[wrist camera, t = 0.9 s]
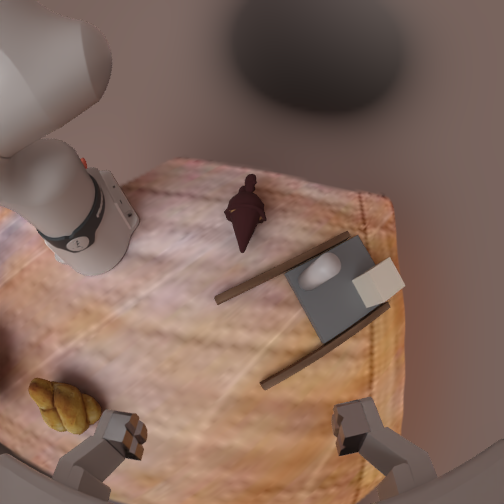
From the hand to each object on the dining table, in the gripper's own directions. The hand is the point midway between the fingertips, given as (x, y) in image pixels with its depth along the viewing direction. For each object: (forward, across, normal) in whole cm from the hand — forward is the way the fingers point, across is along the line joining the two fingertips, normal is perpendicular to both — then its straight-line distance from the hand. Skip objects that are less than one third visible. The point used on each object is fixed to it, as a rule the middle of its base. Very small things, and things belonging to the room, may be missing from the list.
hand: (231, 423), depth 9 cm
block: (+36, -22, +18) cm, 46 cm away
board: (+36, -16, +17) cm, 43 cm away
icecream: (+43, +1, +4) cm, 43 cm away
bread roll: (+16, +34, +25) cm, 45 cm away
